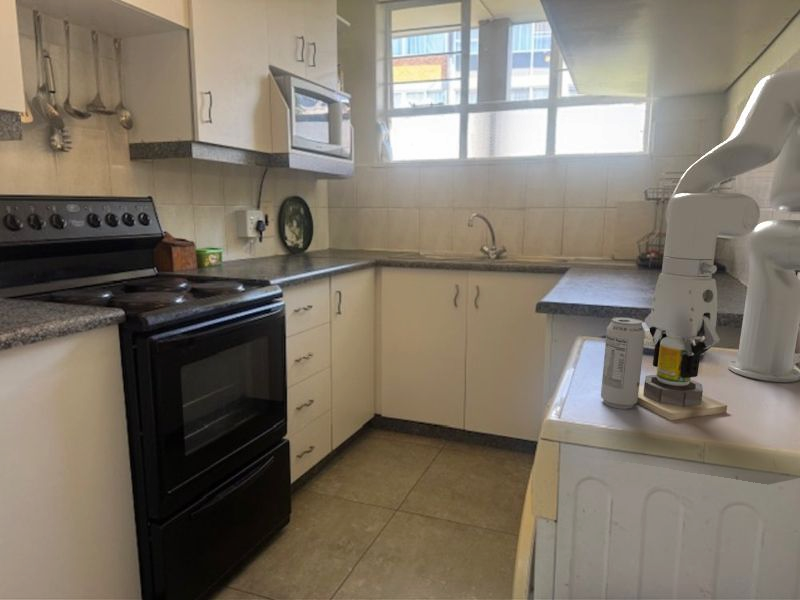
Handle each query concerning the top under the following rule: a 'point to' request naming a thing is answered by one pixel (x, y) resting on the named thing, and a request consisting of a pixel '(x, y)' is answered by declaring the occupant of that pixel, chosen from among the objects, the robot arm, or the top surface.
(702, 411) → the collar
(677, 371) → the supplement bottle
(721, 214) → the robot arm
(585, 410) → the top surface
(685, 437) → the top surface
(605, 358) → the energy drink can
